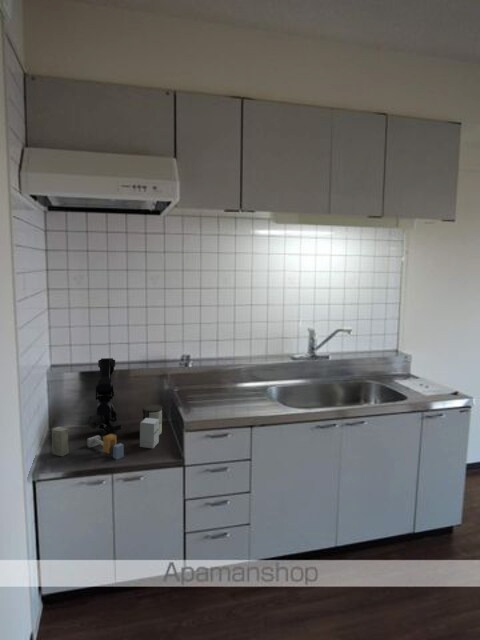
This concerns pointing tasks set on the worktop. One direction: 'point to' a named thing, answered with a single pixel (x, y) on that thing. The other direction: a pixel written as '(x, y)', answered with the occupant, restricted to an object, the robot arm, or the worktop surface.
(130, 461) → the worktop surface
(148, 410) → the coffee can
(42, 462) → the worktop surface
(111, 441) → the sleeve
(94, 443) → the grey mallet
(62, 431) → the skincare box
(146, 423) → the supplement box
